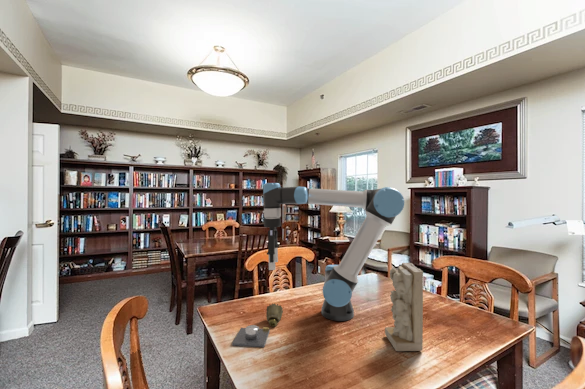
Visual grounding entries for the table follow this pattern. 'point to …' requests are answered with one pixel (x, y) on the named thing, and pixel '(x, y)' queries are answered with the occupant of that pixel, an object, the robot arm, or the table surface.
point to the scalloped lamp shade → (274, 314)
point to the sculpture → (406, 308)
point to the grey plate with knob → (251, 336)
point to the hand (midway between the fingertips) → (273, 265)
